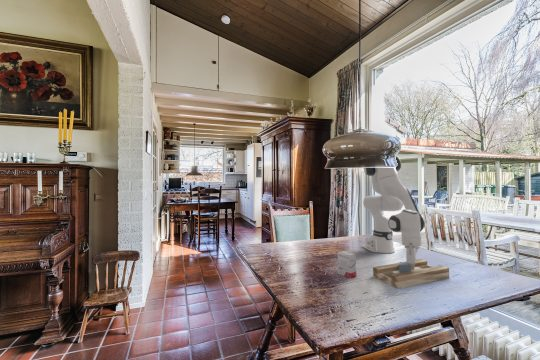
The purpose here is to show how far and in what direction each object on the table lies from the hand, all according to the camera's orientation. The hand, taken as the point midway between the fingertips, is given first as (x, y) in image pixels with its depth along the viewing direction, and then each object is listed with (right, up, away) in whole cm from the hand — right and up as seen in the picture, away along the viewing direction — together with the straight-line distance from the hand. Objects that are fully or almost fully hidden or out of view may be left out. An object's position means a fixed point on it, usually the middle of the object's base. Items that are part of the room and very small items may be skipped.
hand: (412, 268), depth 130 cm
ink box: (-32, -6, +6) cm, 33 cm away
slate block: (-4, -2, 0) cm, 4 cm away
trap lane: (0, -5, +1) cm, 5 cm away
